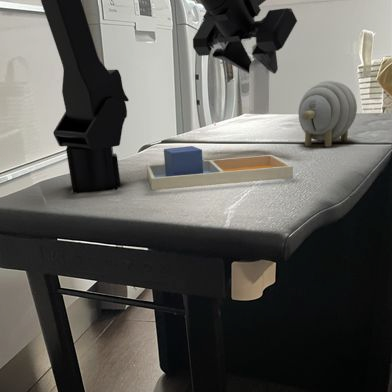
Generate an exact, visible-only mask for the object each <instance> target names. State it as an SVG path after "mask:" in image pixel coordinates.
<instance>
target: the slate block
mask: <svg viewBox="0 0 392 392" xmlns="http://www.w3.org/2000/svg"><path fill="white" fill-rule="evenodd" d="M163 157H164V164H165V172H166V177H168V176H180V175H191V174H203V161H204V160H203V149H201V148H198V147H197V146H194V145H187V146H179V147H178V146H177V147H170V148H164V149H163Z"/></svg>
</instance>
